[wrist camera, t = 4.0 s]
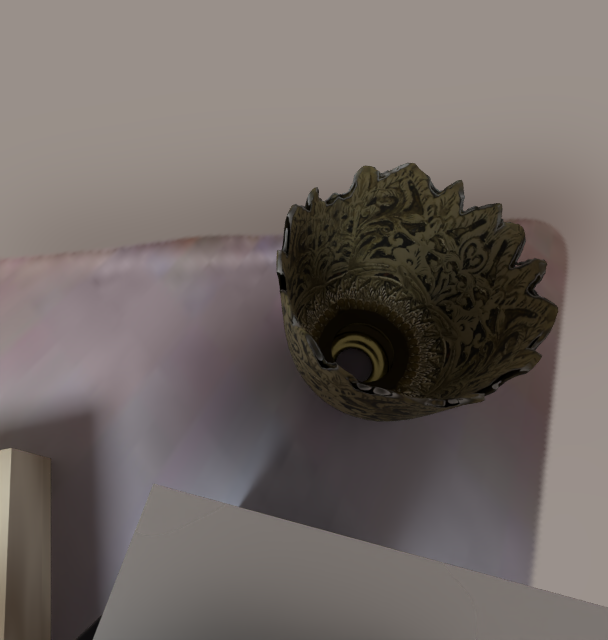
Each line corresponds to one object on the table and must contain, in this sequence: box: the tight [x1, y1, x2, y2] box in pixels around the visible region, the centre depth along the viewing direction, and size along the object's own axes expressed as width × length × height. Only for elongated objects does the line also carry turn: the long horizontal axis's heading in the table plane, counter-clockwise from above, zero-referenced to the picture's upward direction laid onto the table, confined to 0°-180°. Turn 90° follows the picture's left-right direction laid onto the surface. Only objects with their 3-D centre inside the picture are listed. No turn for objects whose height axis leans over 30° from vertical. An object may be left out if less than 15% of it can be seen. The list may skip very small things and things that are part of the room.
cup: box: [277, 163, 558, 421], centre depth 14 cm, size 8×7×8 cm
